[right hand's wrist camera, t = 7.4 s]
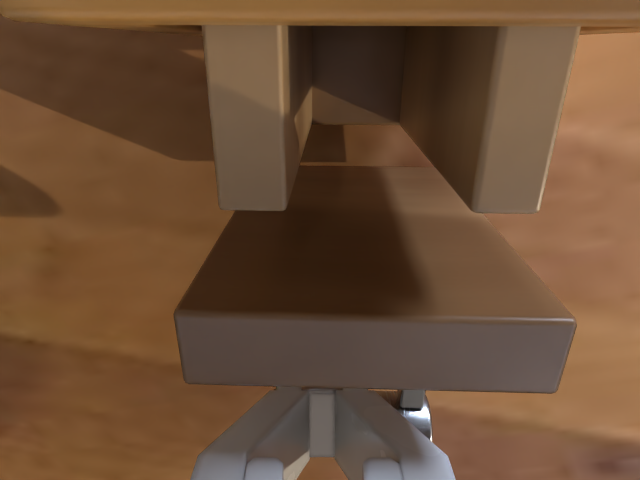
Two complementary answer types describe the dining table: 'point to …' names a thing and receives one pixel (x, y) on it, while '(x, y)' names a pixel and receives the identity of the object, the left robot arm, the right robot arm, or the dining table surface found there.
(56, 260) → the dining table surface
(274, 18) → the wooden drawer cabinet
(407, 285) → the drawer
